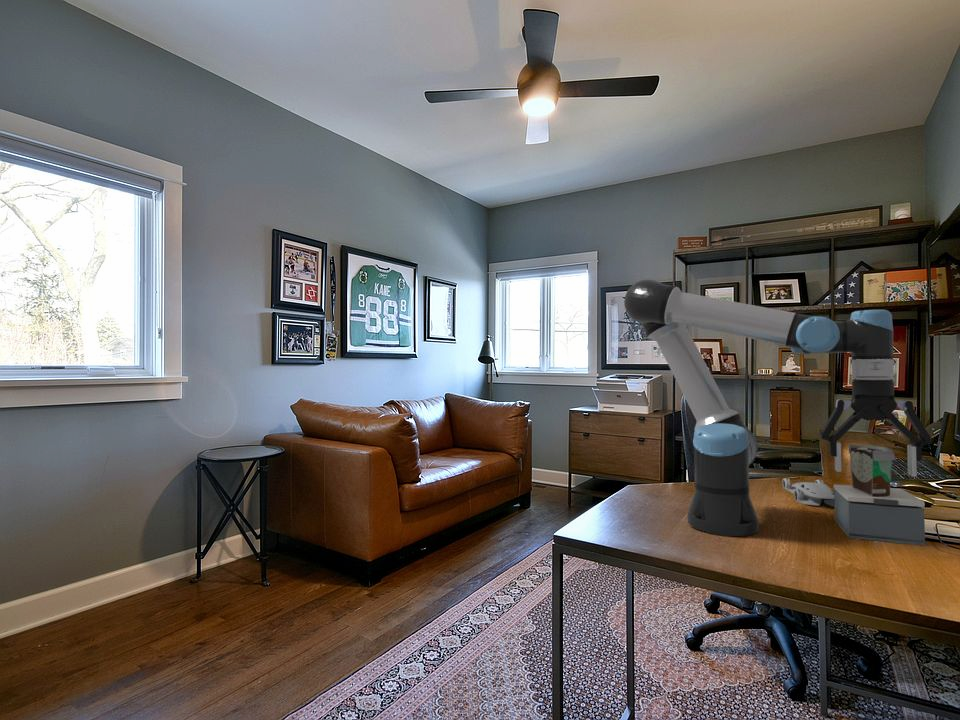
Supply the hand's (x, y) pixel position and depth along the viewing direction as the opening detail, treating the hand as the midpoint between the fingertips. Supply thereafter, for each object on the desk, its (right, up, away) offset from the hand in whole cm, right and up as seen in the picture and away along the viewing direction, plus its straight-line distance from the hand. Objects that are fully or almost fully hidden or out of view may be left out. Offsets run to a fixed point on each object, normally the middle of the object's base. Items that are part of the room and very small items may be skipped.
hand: (874, 473), depth 115 cm
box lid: (0, -5, -1) cm, 5 cm away
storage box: (0, -13, 0) cm, 13 cm away
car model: (+6, -14, +30) cm, 33 cm away
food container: (+1, -5, 0) cm, 5 cm away
